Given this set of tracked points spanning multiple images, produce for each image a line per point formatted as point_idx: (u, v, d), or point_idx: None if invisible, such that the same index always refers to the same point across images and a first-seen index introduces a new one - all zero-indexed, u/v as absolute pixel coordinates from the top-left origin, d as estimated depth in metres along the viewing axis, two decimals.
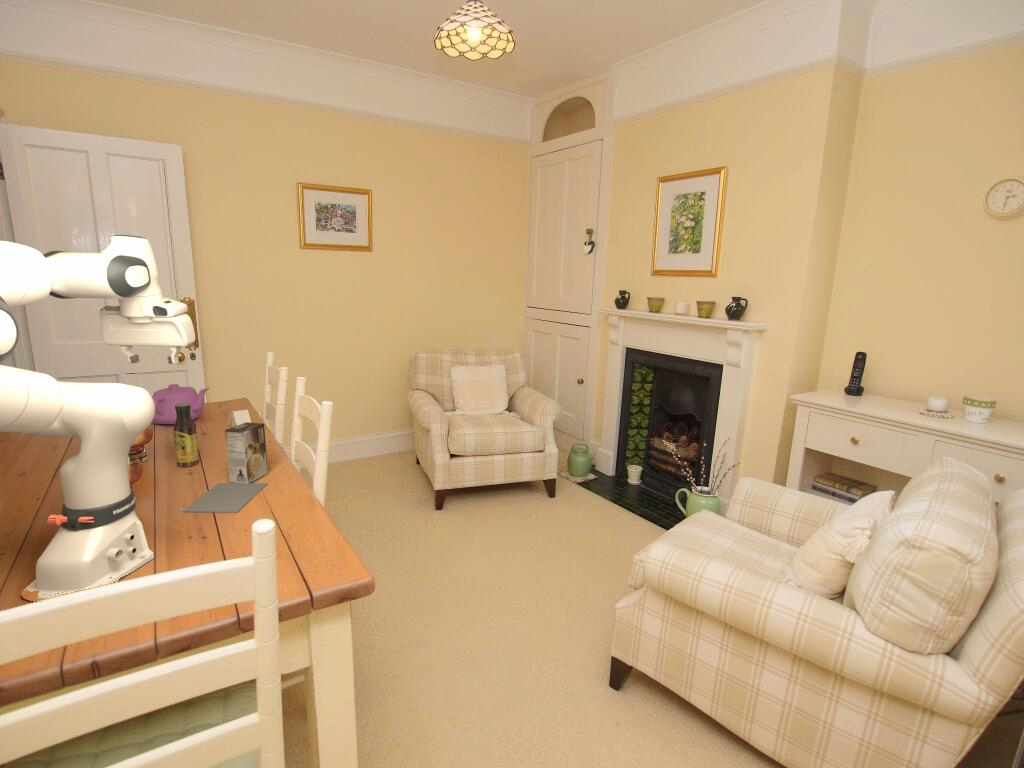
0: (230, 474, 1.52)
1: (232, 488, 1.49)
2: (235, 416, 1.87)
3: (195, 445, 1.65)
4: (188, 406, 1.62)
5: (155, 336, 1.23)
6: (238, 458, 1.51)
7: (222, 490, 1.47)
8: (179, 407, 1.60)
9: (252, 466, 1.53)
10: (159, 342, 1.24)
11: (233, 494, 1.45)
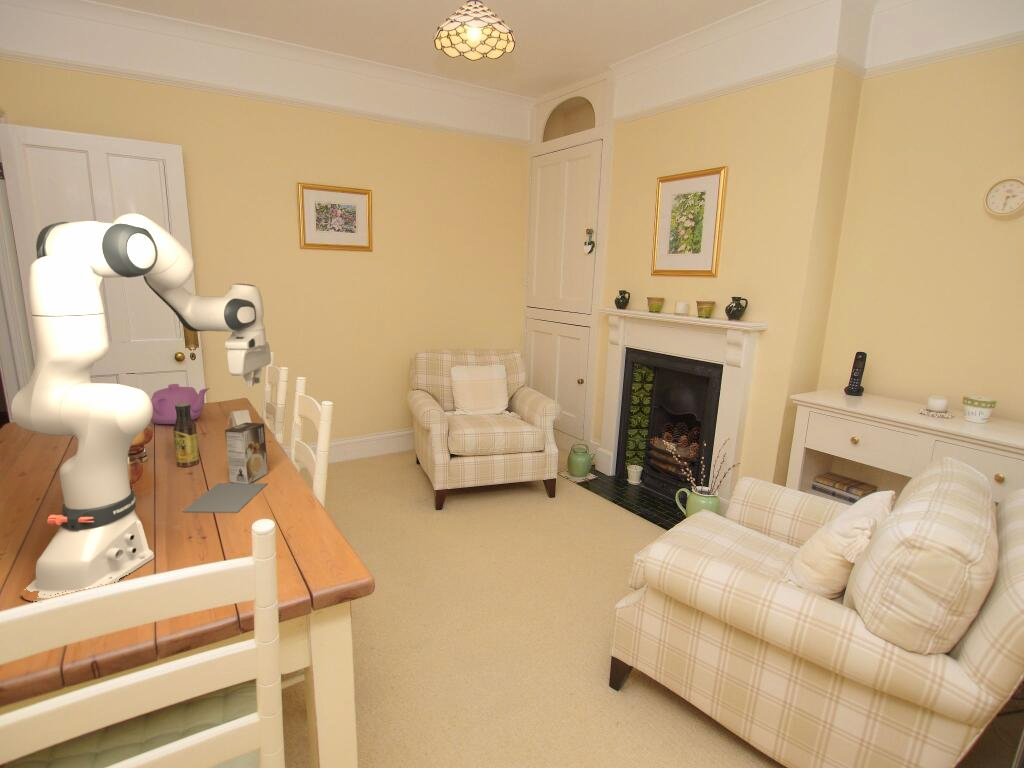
0: (230, 474, 1.52)
1: (232, 488, 1.49)
2: (235, 416, 1.87)
3: (195, 445, 1.65)
4: (188, 406, 1.62)
5: None
6: (238, 458, 1.51)
7: (222, 490, 1.47)
8: (179, 407, 1.60)
9: (252, 466, 1.53)
10: None
11: (233, 494, 1.45)
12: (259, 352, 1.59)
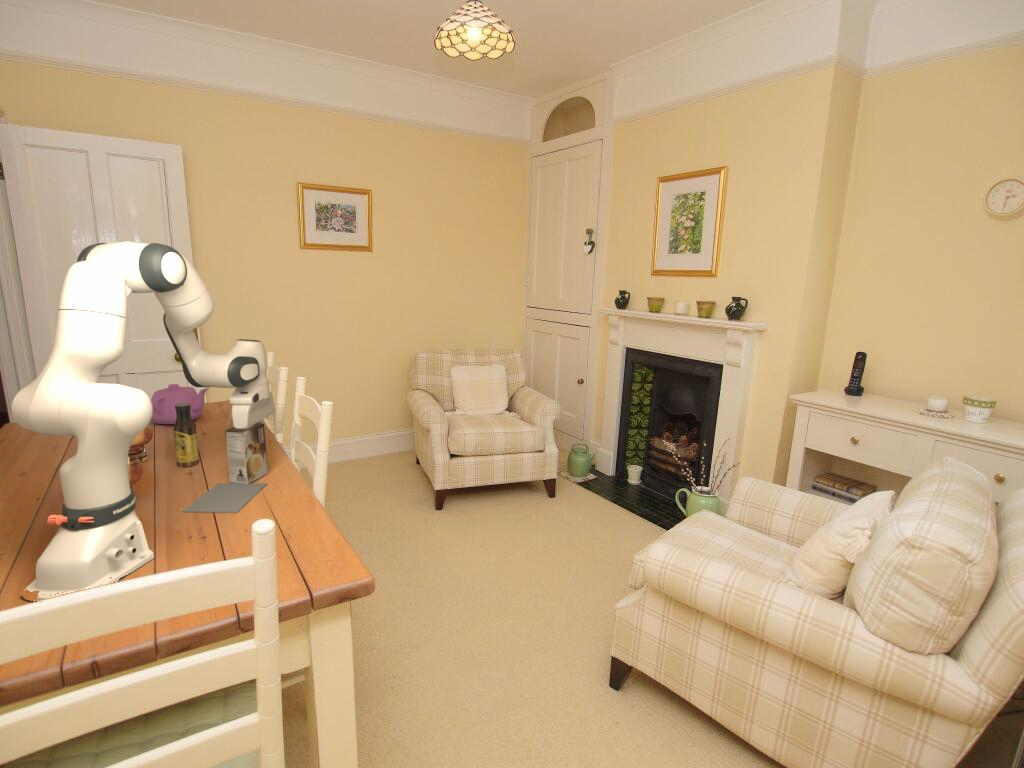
0: (230, 474, 1.52)
1: (232, 488, 1.49)
2: None
3: (195, 445, 1.65)
4: (188, 406, 1.62)
5: None
6: (238, 458, 1.51)
7: (222, 490, 1.47)
8: (179, 407, 1.60)
9: (252, 466, 1.53)
10: None
11: (233, 494, 1.45)
12: (263, 403, 1.62)
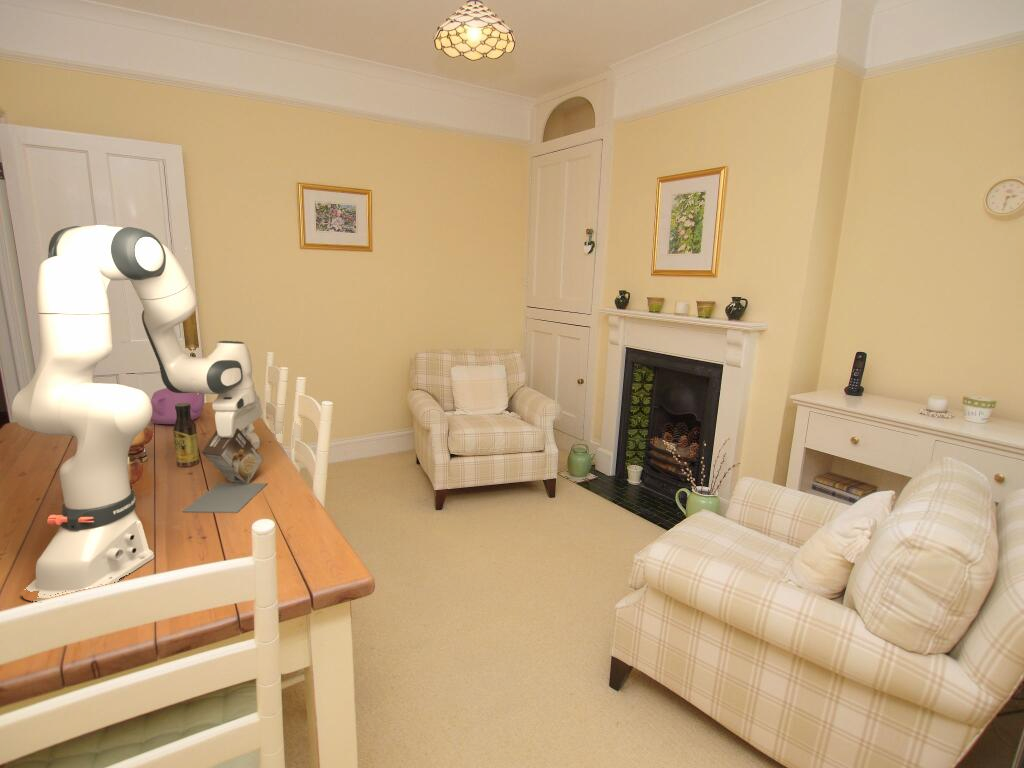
0: (226, 477, 1.51)
1: (232, 488, 1.49)
2: None
3: (195, 445, 1.65)
4: (188, 406, 1.62)
5: None
6: (227, 470, 1.46)
7: (222, 490, 1.47)
8: (179, 407, 1.60)
9: (245, 469, 1.49)
10: None
11: (233, 494, 1.45)
12: (249, 408, 1.53)
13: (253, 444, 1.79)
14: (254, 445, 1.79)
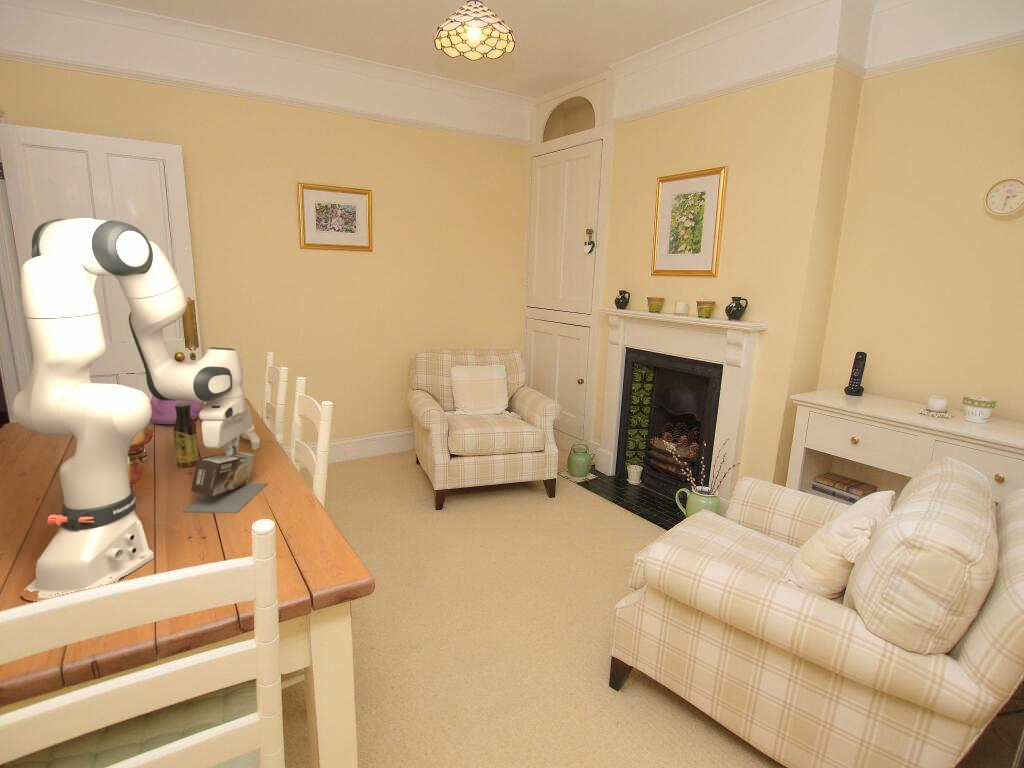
0: None
1: None
2: None
3: (195, 445, 1.65)
4: (188, 406, 1.62)
5: None
6: None
7: None
8: (179, 407, 1.60)
9: (240, 479, 1.47)
10: None
11: (233, 494, 1.45)
12: (238, 418, 1.46)
13: (253, 444, 1.79)
14: (254, 445, 1.79)
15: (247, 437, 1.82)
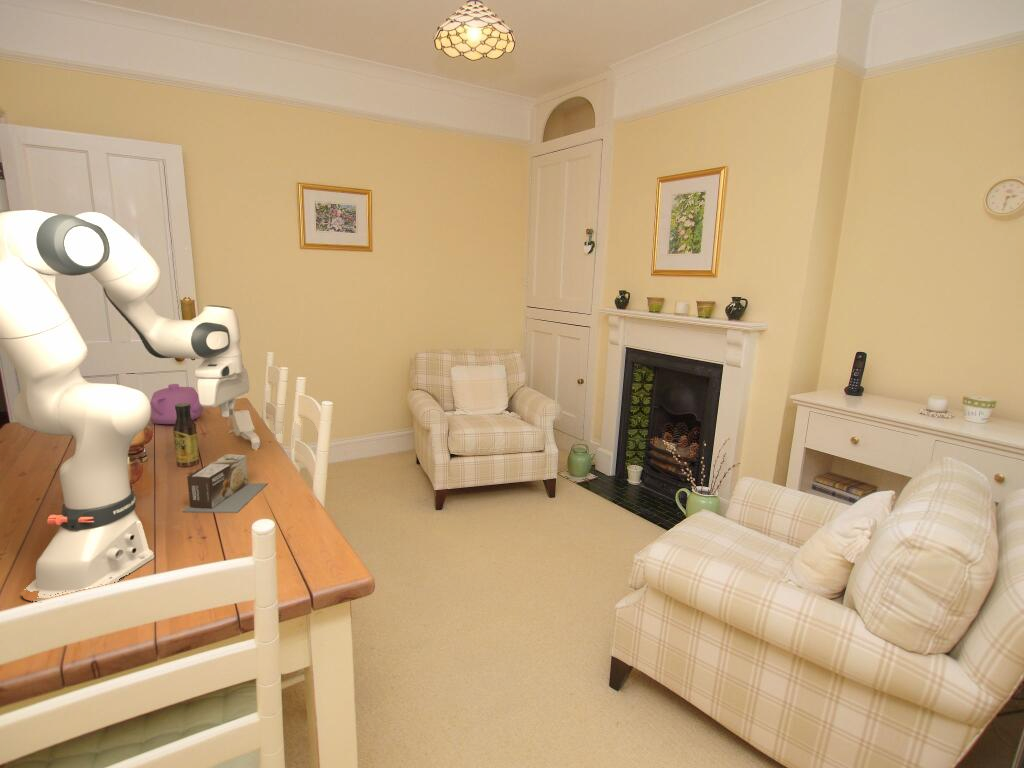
0: None
1: None
2: (236, 417, 1.86)
3: (195, 445, 1.65)
4: (188, 406, 1.62)
5: None
6: None
7: None
8: (179, 407, 1.60)
9: (237, 483, 1.46)
10: None
11: (233, 494, 1.45)
12: (235, 380, 1.44)
13: (253, 444, 1.79)
14: (254, 445, 1.79)
15: (247, 437, 1.82)
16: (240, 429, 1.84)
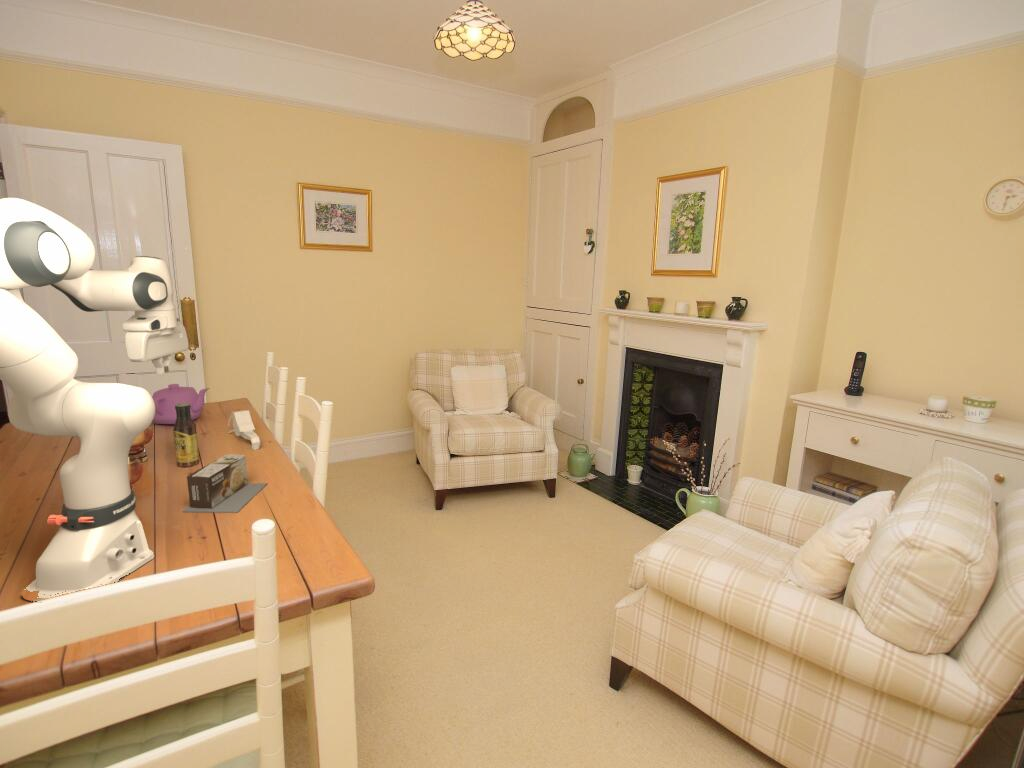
0: None
1: None
2: (236, 417, 1.86)
3: (195, 445, 1.65)
4: (188, 406, 1.62)
5: None
6: None
7: None
8: (179, 407, 1.60)
9: (237, 483, 1.46)
10: None
11: (233, 494, 1.45)
12: (170, 336, 1.39)
13: (254, 444, 1.78)
14: (255, 445, 1.79)
15: (247, 437, 1.82)
16: (240, 429, 1.84)
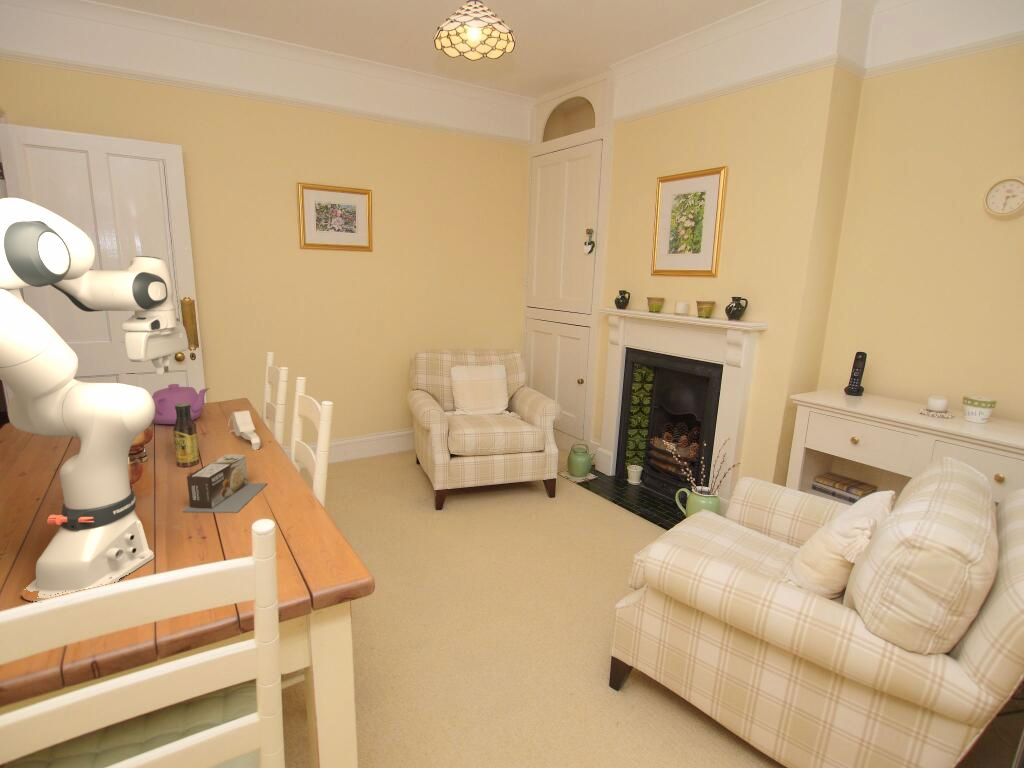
0: None
1: None
2: (236, 417, 1.86)
3: (195, 445, 1.65)
4: (188, 406, 1.62)
5: None
6: None
7: None
8: (179, 407, 1.60)
9: (237, 483, 1.46)
10: None
11: (233, 494, 1.45)
12: (170, 336, 1.39)
13: (254, 444, 1.78)
14: (255, 445, 1.79)
15: (247, 437, 1.81)
16: (240, 429, 1.84)
